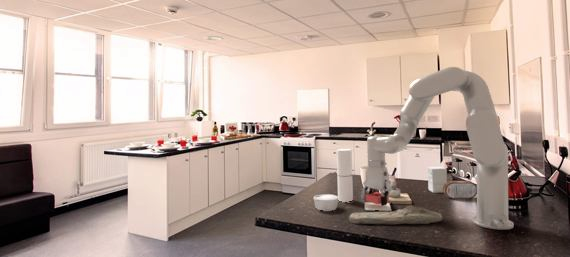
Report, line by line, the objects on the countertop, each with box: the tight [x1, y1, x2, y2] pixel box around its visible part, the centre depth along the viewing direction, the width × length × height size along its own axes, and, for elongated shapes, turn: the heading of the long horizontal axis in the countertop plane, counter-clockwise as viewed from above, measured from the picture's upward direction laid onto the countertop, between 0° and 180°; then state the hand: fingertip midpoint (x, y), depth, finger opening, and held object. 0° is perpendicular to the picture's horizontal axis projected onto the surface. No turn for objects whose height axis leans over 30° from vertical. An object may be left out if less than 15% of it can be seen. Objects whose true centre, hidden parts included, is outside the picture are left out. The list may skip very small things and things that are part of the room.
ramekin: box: [313, 193, 339, 212], centre depth 141 cm, size 11×11×5 cm
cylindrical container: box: [336, 148, 354, 203], centre depth 153 cm, size 7×7×25 cm
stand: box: [387, 180, 413, 205], centre depth 151 cm, size 14×14×9 cm
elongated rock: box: [349, 204, 443, 225], centre depth 121 cm, size 35×5×10 cm
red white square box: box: [365, 192, 389, 204], centre depth 140 cm, size 7×7×3 cm
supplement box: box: [427, 166, 448, 194], centre depth 165 cm, size 7×7×13 cm
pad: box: [364, 201, 392, 212], centre depth 140 cm, size 11×11×1 cm
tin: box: [443, 180, 477, 200], centre depth 150 cm, size 15×3×8 cm, turn 84°
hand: (377, 202), depth 140 cm, fingers closed on red white square box, 6 cm apart
